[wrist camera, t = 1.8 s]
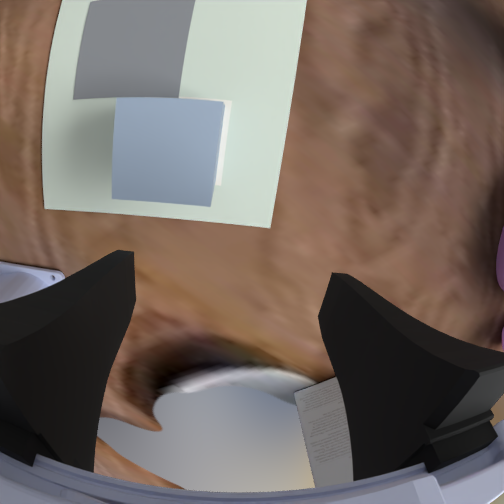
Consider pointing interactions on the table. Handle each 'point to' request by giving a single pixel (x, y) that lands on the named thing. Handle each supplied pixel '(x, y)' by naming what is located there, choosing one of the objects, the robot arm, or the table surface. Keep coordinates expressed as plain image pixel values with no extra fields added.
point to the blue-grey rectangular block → (166, 149)
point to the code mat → (171, 96)
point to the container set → (500, 269)
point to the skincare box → (326, 433)
